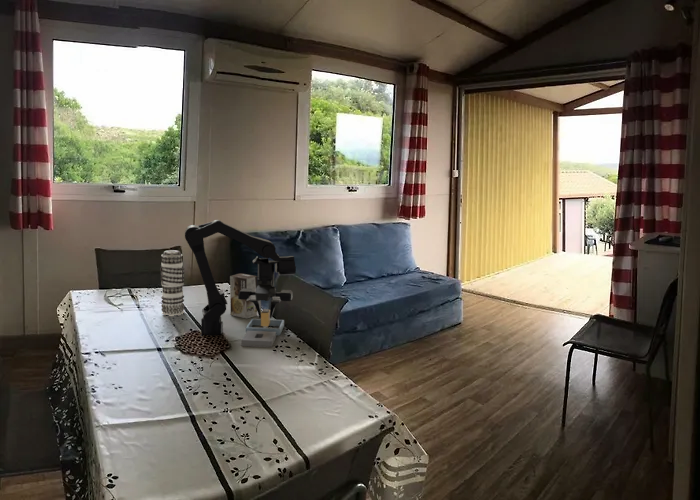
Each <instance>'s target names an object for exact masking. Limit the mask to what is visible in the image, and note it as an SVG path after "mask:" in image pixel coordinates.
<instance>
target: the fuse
mask: <svg viewBox="0 0 700 500" xmlns="http://www.w3.org/2000/svg"><path fill="white" fill-rule="evenodd" d="M270 310H271V309H267V308H264V309H262V310H261V318H260V319H261V327H262V328H269V327H270V326H269V324H270V320H271V318H270Z"/></svg>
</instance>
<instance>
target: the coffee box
mask: <svg viewBox="0 0 700 500" xmlns="http://www.w3.org/2000/svg"><path fill="white" fill-rule="evenodd" d="M257 284H258V275H253V274H246V273H236V274H233V275H230V276H229V290H230V291H229V292H230V294H229V296H230V300H229V301H230V315H231V316H234V317H238V318H243V319H250V318H253V317H257V315H258V312H257V309H256V306H255V305H254V303H253V302H250V297H249V298H248V299H247V300H243V299H238V293H239V292H240V290H241V289H242V288H246V289H252V291H254V292H255V291H256V287H257Z"/></svg>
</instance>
